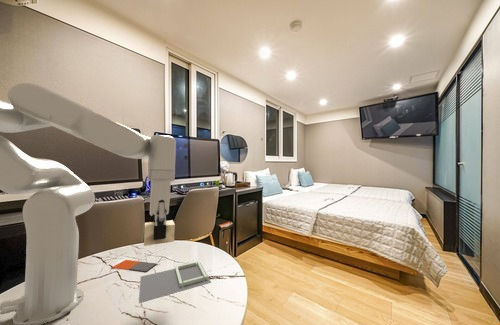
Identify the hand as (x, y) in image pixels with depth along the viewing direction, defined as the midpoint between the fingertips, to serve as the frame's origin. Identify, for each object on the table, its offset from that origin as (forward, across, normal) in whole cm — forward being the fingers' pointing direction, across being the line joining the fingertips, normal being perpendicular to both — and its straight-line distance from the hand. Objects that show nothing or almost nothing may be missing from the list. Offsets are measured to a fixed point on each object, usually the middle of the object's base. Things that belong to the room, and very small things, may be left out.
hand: (159, 234), depth 57 cm
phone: (+18, -19, -6) cm, 27 cm away
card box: (+2, 0, 0) cm, 2 cm away
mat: (+17, -3, +6) cm, 18 cm away
